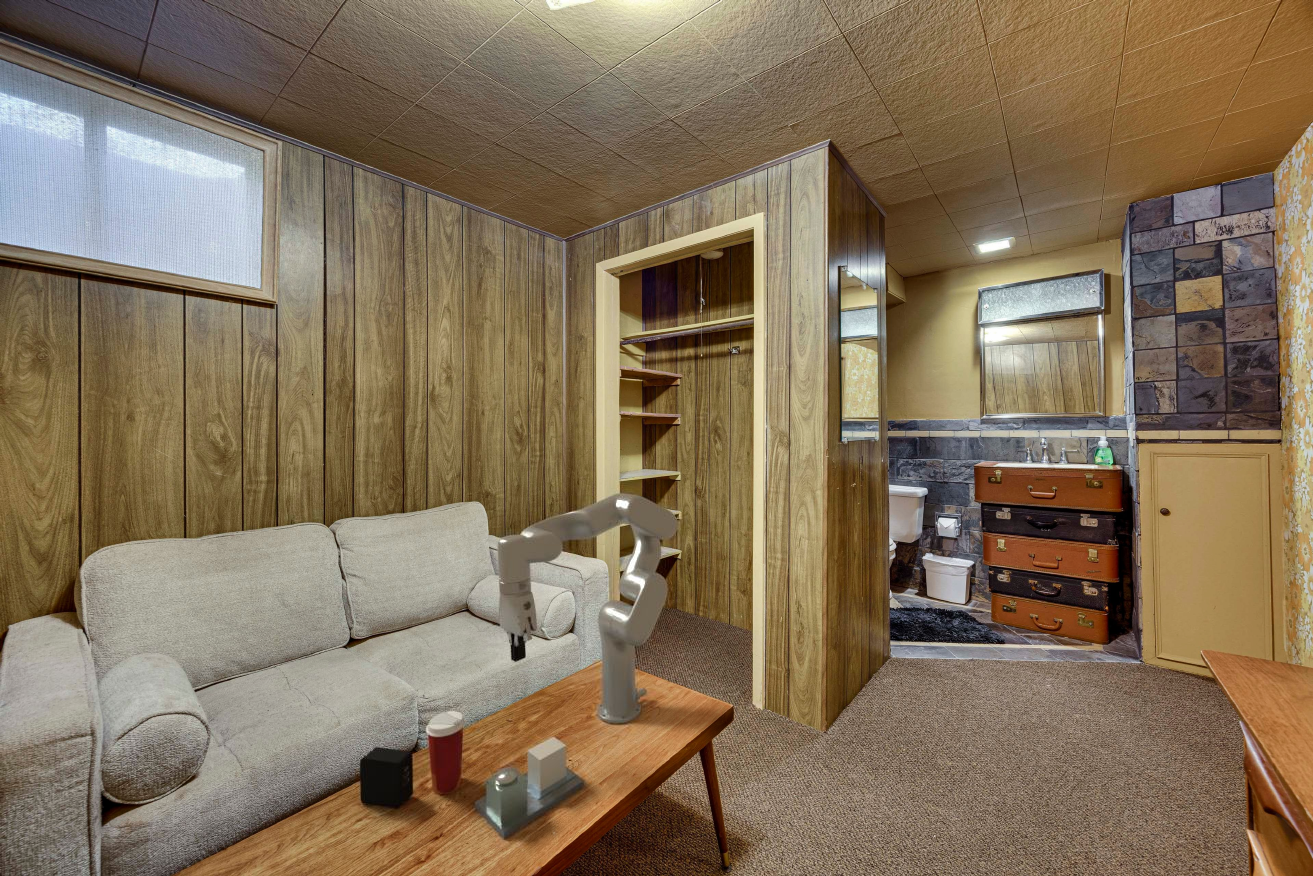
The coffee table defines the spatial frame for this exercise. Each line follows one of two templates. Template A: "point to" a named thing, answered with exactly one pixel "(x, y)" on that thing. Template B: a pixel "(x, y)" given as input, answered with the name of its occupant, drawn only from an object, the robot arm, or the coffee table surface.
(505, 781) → the pin
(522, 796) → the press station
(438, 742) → the coffee cup
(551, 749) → the block
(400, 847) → the coffee table surface
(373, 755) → the electronic device
